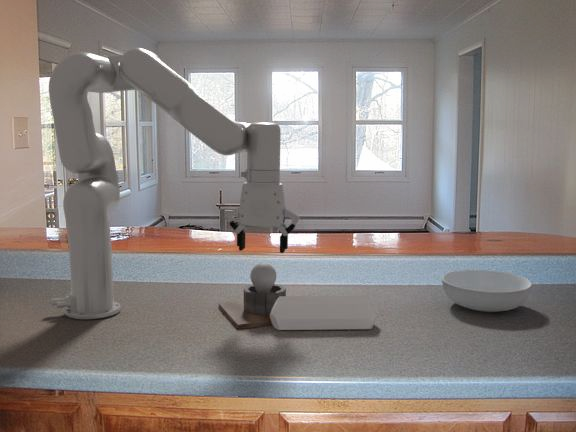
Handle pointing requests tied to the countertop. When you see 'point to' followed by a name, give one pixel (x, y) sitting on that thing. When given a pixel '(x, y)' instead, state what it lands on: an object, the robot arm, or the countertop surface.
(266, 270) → the lightbulb
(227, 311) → the socket
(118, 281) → the countertop surface
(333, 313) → the crystal
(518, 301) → the serving bowl
